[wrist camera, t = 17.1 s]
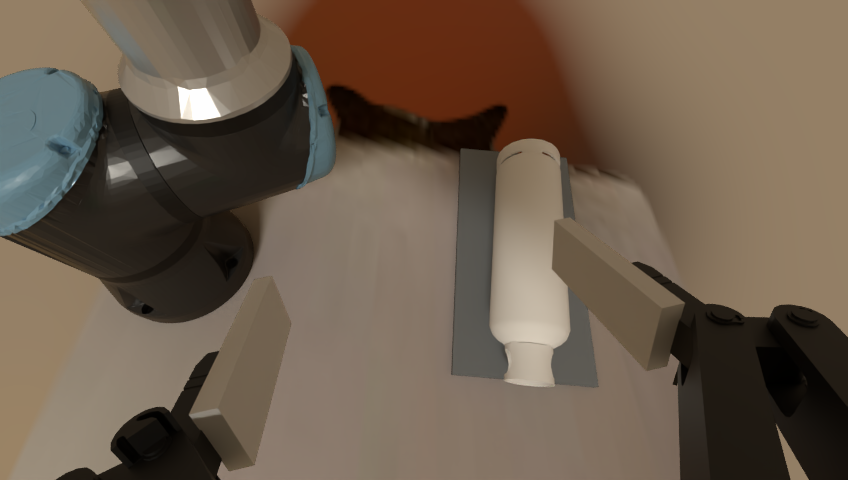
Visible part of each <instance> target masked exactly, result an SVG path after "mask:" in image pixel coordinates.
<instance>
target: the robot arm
mask: <svg viewBox="0 0 848 480" xmlns="http://www.w3.org/2000/svg"><path fill="white" fill-rule="evenodd" d="M80 1H81V2H82V3H83V5H84V6H85V7H86V8H87V10H88V11H89V12H90V13H91V15H92V16H93V17H94V18H95V20H96V21H97V22H98V23H99V25H100V26H101V27H102V28H103V30H104V31H105V32H106V33H107V35H108V36H109V37H110V38H111V40H112V41H113V42H114V43H115V45H116V46H117V47H118V48H119V50H120V51H121V52H122V56H121V59H120V62H119V65H118V81H119V84H120V87H121V88H119V89H113V90H109V91H105V92H98V91H97V88H96V87H95V86H94V85H93V84H91V82H89V81H87V80H85V79H83V78H81V77H80V76H78V75H77V74H75V73H72V72H70V71H66V70H58V69H56V68H35V69H28V70H23V71H19V72H16V73H13V74H10V75H7V76H4V77H2V78H0V237H2V238H5V239H7V240H10V241H12V242H14V243H17V244H19V245H21V246H24V247H26V248H29V249H31V250H33V251H36V252H38V253H41V254H43V255H45V256H47V257H50V258H52V259H54V260H57V261H60V262H62V263H64V264H66V265H69V266H71V267H74V268H76V269H78V270H81V271H83V272H85V273H88V274H90V275H92V276H95V277H97V278H99V279H100V280H101V282H102V283H103V284H104V285H105V287H106V288H107V289H108V290H109V291H110V293H111V294H112V295H113V296H114V297H115V299H116V300H117V301H118V302H119V303H120V304H121V305H122V306H123V307H124V308H126V309H127V310H129V311H130V312H132V313H134V314H136V315H138V316H141V317H144V318H146V319H149V320H152V321H156V322H161V323H180V322H186V321H190V320H193V319H197V318H199V317H202V316H204V315H206V314H208V313H210V312H212V311H214V310H215V309H217V308H219V307H220V306H221V305H223V304H224V303H225V302H226V301H228V300H229V299H230V298H231V297H232V296H233V295H234V294H235V293H236V292H237V290H238V289H239V288H240V287H241V285H242V284H243V282H244V281H245V279H246V277H247V275H248V273H249V271H250V268H251V264H252V260H253V243H252V239H251V236H250V234H249V232H248V230H247V229H246V227H245V226H244V225H243V224H242V223H241V221H240V220H239V219H238V218H237V217H236V216H235V215H234V214H233V213H231V212H230V211H229V210H232V209H235V208H238V207H241V206H244V205H247V204H250V203H254V202H257V201H260V200H263V199H266V198H269V197H272V196H275V195H278V194H281V193H285V192H288V191H291V190H294V189H300V188H302V187H303V186H305V185H306V184H307V183H310V182H312V181H314V180H317V179H319V178H322V177H324V176H326V175H327V174H329V173H330V171H331V170H332V169H333V167H334V164H335V159H336V144H335V135H334V129H333V124H332V119H331V115H330V113H329V111H328V110H327V109H328V106H327V100H326V95H325V91H324V88H323V85H322V82H321V79H320V77H319V74H318V71H317V69H316V67H315V65H314V63H313V61H312V59H311V57H310V55H309V53H308V52H307V51H306V50H305V49H304V48H302V47H301V46H293V45H290V44H289V41H288V39H287V37H286V35H285V34H284V33H283V31H282V30H281V29H280V28H279V27H278V26H277V25H276V24H274V23H273V22H272V21H270V20H268V19H267V18H265V17H263V16H261V15H259V14H257V13H256V11H255V9H254V6H253V3H252V1H251V0H80ZM552 270H553V271H554V272H555V273H556V274H557V275H558V276H559V277H560V278H561V280H562V281H563V282H564V283H565V284H566V285H567V286H568V287H569V288H570V289H571V290H572V291H573V292H574V294H575V295H576V296H577V297H578V298H579V299H580V300H581V301H582V302H583V303H584V304H585V305H586V307H587V308H588V309H589V310H590V311H591V312H592V313H593V314H594V315H595V316H596V317H597V318H598V320H599V321H600V322H601V323H602V324H603V325H604V326H605V327H606V328H607V329H608V330H609V331H610V332H611V334H612V335H613V336H614V337H615V338H616V339H617V340H618V341H619V342H620V343H621V344H622V345H623V347H624V348H625V349H626V350H627V351H628V352H629V353H630V354H631V355H632V356H633V357H634V358H635V360H636V361H637V362H638V363H639V364H640V365H641V366H642V367H643V368H644V369H645V370H646V371H649V370H653V369H657V368H661V367H665V366H667V364H668V361H669V357H670V354H672V355H673V356H674V357H676V358H677V359H678V360H679V361H680V362H679V366H678V369H677V372H676V375H675V378H674V382H673V385H676V386H677V383H678V408H679V444H680V480H790V476H789V472H788V468H787V465H786V461H785V457H784V453H783V450H782V446H781V442H780V439H779V435H778V431H777V427H776V424H777V426H778V428H779V429H780V431H781V433H782V434H783V436H784V438H785V440H786V441H787V443H788V445H789V446H790V448H791V450H792V452H793V453H794V455H795V457H796V458H797V460H798V462H799V463H800V465H801V467H802V469H803V470H804V472H805V474H806V475H807V477H808V479H809V480H848V337H847V336H846V335H845V334H844V333H843V332H842V331H841V330H840V329H839V328H838V327H837V326H836V325H835V324H834V323H833V322H832V321H831V320H830V319H828V318H827V317H826V316H824V315H822V314H820V313H818V312H816V311H814V310H812V309H809V308H805V307H802V306H796V305H779V306H777V307H775V308H774V309H773V311H772V313H771V316H770V318H765V317H763V318H762V317H744V316H743V315H742V314H740V313H739V312H737V311H735V310H733V309H731V308H729V307H725V306H722V305H716V304H704V303H702V302H701V301H699V300H698V299H696V298H695V297H694V296H692V295H691V294H689V293H688V292H687V291H685V290H684V289H682V288H681V287H679V286H678V285H677V284H675V283H672V281H671V280H669V279H668V278H667V277H665V276H664V277H663V275H662V274H661V273H660V272H658V271H657V270H655V269H654V268H652V267H650V266H648V265H645V264H643V263H640V262H633V263H631V262H629V261H628V260H626V259H625V258H624V257H622V256H621V255H620V254H618V253H617V252H616V251H614V250H613V249H612V248H610V247H609V246H608V245H606V244H605V243H604V242H602V241H601V240H600V239H598V238H597V237H596V236H594V235H593V234H591V233H590V232H589V231H587V230H586V229H585V228H583V227H582V226H581V225H579V224H578V223H577V222H575V221H574V220H573V219H571V218H570V217H569V218H564V219H559V220H554V236H553V255H552ZM290 327H291V321H290V318H289V316H288V314H287V311H286V309H285V306H284V304H283V301H282V299H281V297H280V294H279V292H278V289H277V287H276V284H275V282H274V279H273V277H272V276H268V277H263V278H258V279H254V281H253V283H252V285H251V287H250V289H249V291H248V293H247V295H246V297H245V299H244V302H243V304H242V306H241V308H240V310H239V312H238V314H237V316H236V318H235V320H234V322H233V324H232V326H231V328H230V330H229V332H228V335H227V337H226V339H225V341H224V343H223V345H222V347H221V349H220V351H217V352H212V353H208V354H207V355H206V356H205V357H204V358H203V359H202V360H201V361H200V362H199V363H198V364H197V365H196V366H195V368H194V370H193V372H192V374H191V376H190V377H189V381H187V383H186V385H185V387H184V391H182V392H181V394H180V396H179V398H178V400H177V402H176V403H175V405H174V407H173V409H172V411H171V413H170V411H169V410H167V409H166V408H164V407H155V408H151V409H148V410H145V411H143V412H141V413H140V414H138V415H136V416H134V417H133V418H132V419H130V420H129V421H128V422H127V423H125V424H124V425H123V426H122V427H121V428H120V430H119V431H118V432H117V433H116V434H115V436H114V438H113V440H112V442H111V451H112V452H113V453H114V454H115V455H116V456H117V457H118V458H119V460H120V461H121V462H122V463H121V464H119V465H117V466H115V467H113V468H111V469H109V470H107V471H105V472H103V473H101V474H99V475H96V474H95V473H94V472H93V471H92V470H90V469H88V468H87V467H86V468H78V469H75V470H73V471H70V472H68V473H65V474H64V475H62V476H61V477H59V478H58V479H56V480H220V478H219V477H218V476H217V472H218V469H219V466H220V463H221V461H222V462H223V463H224V465H225V466H226V468H227V469H228V470H229V471H232V470H236V469H241V468H245V467H249V466H253V465H255V461H256V457H257V453H258V449H259V446H260V442H261V438H262V434H263V430H264V426H265V423H266V419H267V415H268V411H269V407H270V404H271V400H272V396H273V392H274V388H275V384H276V381H277V377H278V373H279V369H280V365H281V361H282V358H283V354H284V350H285V346H286V342H287V338H288V335H289V331H290Z"/></svg>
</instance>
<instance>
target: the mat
mask: <svg viewBox="0 0 848 480" xmlns="http://www.w3.org/2000/svg"><path fill="white" fill-rule="evenodd" d="M499 153H500V152H496V151H485V150H473V149H462V148H461V150H460V169H459V195H458V220H457V245H456V271H455V296H454V322H453V347H452V373H451V375H460V376H472V377H483V378H494V379H504V374H505V373H507V371H508V366H509V363H508V358H507V354H506V352H505V345H504V344H502V343H501V342H499V341H498V340H497V339H496V338H495V337H494V336H493V334H492V332H491V329H490V326H489V320H490V299H491V277H492V255H493V233H494V212H495V190H496V174H497V169H496V168H497V158H498V155H499ZM517 154H518V153H515V154H512V155H511V156H513V155H517ZM511 156H509V157H507V158H506V159H508V158H510V157H511ZM550 157H551V156H550ZM551 158H553V157H551ZM506 159H505V160H506ZM553 159H554V158H553ZM505 160H504V161H505ZM554 160H555V159H554ZM504 161H503V162H504ZM503 162H502V163H503ZM502 163H501V164H502ZM560 170H561V184H562V200H563V217H564V218H569V217H570V218H571V219H573V220H574V221H575V215H574V208H573V201H572V194H571V187H570V180H569V172H568V165H567V158H562V157H560ZM568 299H569V316H570V333H569V336H568V338H567V340H566V341H565V342H564V343H563V344H562V345H560V346H558V347H556V348H554V349H553V355H552V359H551V369H552V374H553V377H554V382H555V384H562V385H574V386H585V387H598V379H597V372H596V365H595V358H594V351H593V344H592V337H591V329H590V322H589V315H588V308H587V307H586V305H585V304H584V303H583V302H582V301H581V300H580V299H579V298H578V297H577V296H576V295H575V294H574V292H573V291H572V290H571V289H570V288H569V287H568Z"/></svg>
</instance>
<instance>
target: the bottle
mask: <svg viewBox="0 0 848 480" xmlns="http://www.w3.org/2000/svg"><path fill="white" fill-rule="evenodd" d="M521 151H522V153H520V154H517V155H513V156H511V155H512V154H515V153H518V152H521ZM542 152H544V153H546V154H549V155H550V156H551V157H553V158H554V159H555V160H554V159H553V158H551V157H550V156H547V155H545V154H542ZM509 156H511V157H510V158H508V159H506V158H507V157H509ZM505 159H506V160H505ZM504 160H505V161H504ZM503 161H504V162H503ZM502 162H503V163H502ZM501 163H502V164H501ZM496 169H497V174H496V190H495V212H494V233H493V255H492V277H491V299H490V320H489V326H490V329H491V332H492V334H493V336H494V337H495V338H496V339H497V340H498V341H499V342H501V343H502V344H504V345H505V352H506V354H507V358H508V363H509V366H508V371H507V373H505V374H504V381H506V382H509V383H513V384H519V385H526V386H536V387H553V386H555V382H554V377H553V374H552V369H551V359H552V355H553V349H554V348H556V347H558V346H560V345H562V344H563V343H564V342H565V341H566V340H567V338H568V336H569V333H570V316H569V299H568V286H567V285H566V284H565V283H564V282H563V281H562V280H561V278H560V277H559V276H558V275H557V274H556V273H555V272H554V271H553V270H552V255H553V236H554V220H559V219H564V217H563V200H562V184H561V170H560V154H559V152H558V150H557V148H556V147H555V146H554V145H552V144H551V143H549V142H547V141H544V140H539V139H523V140H519V141H516V142H513V143H511V144H509V145H508V146H506V147H504V148H503V149H502V151H501V152H500V153H499V155H498V158H497V168H496Z"/></svg>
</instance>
